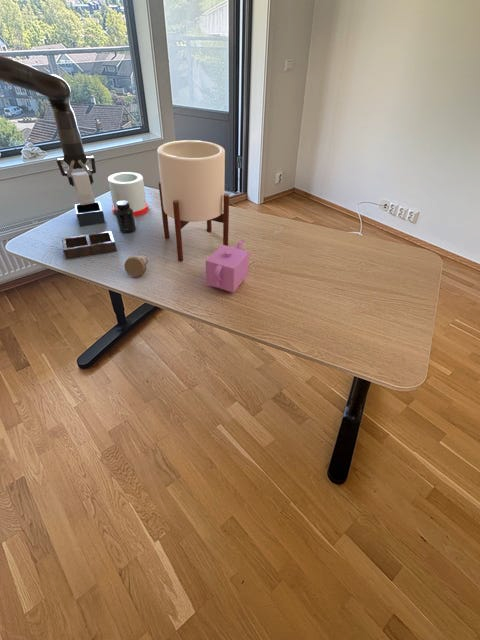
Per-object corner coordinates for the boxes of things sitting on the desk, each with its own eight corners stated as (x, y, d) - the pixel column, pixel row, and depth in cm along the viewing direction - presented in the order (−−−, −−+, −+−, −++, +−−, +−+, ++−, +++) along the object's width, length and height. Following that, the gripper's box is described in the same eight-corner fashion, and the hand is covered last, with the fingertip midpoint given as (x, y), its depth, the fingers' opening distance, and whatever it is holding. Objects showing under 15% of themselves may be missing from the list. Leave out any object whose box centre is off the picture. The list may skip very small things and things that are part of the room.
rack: (66, 259, 126) (63, 250, 124) (64, 247, 133) (61, 238, 130) (116, 251, 132) (114, 242, 130) (113, 239, 139) (111, 230, 136)
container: (155, 207, 164) (151, 175, 154) (134, 220, 153) (128, 186, 143) (127, 200, 168) (122, 169, 159) (105, 212, 157) (98, 179, 148)
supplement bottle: (120, 226, 148) (115, 199, 140) (137, 226, 148) (132, 199, 140) (118, 234, 142) (112, 206, 134) (135, 234, 143) (130, 206, 135)
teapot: (229, 300, 112) (230, 267, 104) (202, 291, 115) (201, 259, 107) (253, 270, 126) (256, 239, 118) (229, 263, 129) (229, 232, 121)
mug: (154, 263, 127) (151, 250, 118) (143, 286, 124) (140, 273, 114) (134, 256, 127) (131, 242, 118) (123, 278, 124) (118, 265, 114)
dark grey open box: (79, 226, 146) (76, 214, 142) (77, 216, 153) (74, 204, 149) (105, 223, 149) (102, 210, 146) (102, 213, 156) (99, 201, 153)
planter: (176, 263, 127) (167, 162, 104) (161, 236, 143) (150, 142, 119) (232, 253, 135) (235, 156, 111) (212, 228, 150) (211, 138, 126)
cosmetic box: (92, 199, 149) (85, 170, 141) (95, 203, 146) (88, 174, 138) (77, 202, 146) (70, 172, 138) (80, 206, 143) (72, 176, 135)
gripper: (89, 136, 135) (99, 179, 146) (49, 138, 130) (62, 183, 141) (91, 141, 130) (101, 186, 141) (50, 144, 125) (63, 190, 136)
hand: (82, 184), depth 141 cm, fingers closed on cosmetic box, 6 cm apart
